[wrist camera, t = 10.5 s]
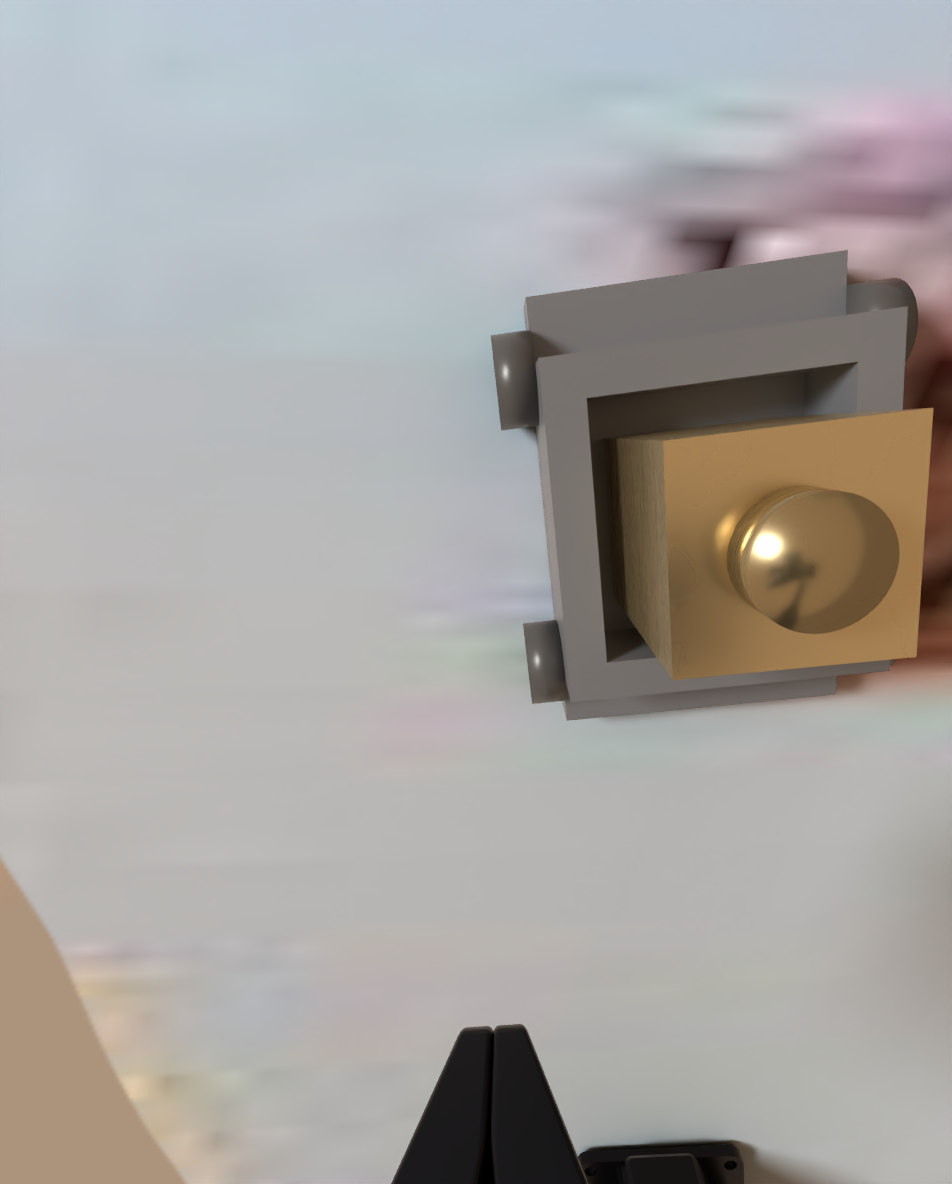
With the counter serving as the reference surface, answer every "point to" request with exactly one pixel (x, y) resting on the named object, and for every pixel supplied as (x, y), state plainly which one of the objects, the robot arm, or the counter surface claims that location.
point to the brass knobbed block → (772, 540)
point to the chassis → (668, 402)
